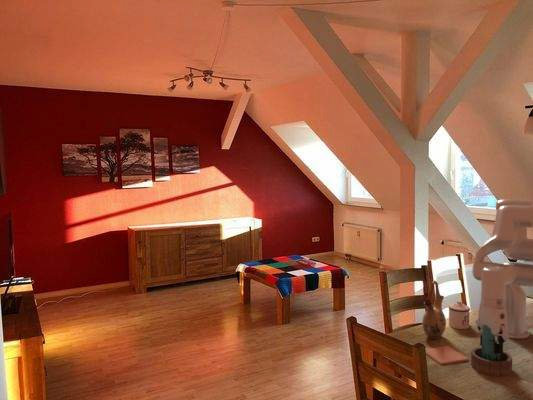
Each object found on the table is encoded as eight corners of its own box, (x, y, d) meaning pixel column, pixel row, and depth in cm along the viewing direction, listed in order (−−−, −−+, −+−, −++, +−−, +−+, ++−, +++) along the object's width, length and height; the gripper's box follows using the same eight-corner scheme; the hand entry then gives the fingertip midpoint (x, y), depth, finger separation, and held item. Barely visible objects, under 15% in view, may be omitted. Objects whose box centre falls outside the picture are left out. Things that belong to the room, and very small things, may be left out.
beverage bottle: (477, 364, 161) (478, 312, 160) (494, 363, 162) (495, 311, 160) (487, 372, 155) (488, 318, 153) (505, 371, 156) (506, 317, 154)
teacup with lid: (465, 331, 193) (466, 305, 192) (445, 326, 199) (445, 301, 198) (474, 323, 201) (475, 299, 200) (454, 319, 208) (455, 295, 207)
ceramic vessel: (437, 346, 178) (437, 286, 176) (415, 340, 184) (416, 283, 182) (451, 334, 190) (452, 278, 188) (430, 329, 196) (431, 275, 194)
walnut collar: (492, 357, 166) (493, 345, 166) (519, 373, 154) (520, 360, 153) (463, 362, 163) (463, 349, 163) (488, 378, 151) (489, 364, 150)
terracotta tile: (448, 347, 176) (448, 346, 176) (468, 360, 164) (468, 358, 164) (422, 351, 173) (422, 349, 173) (440, 364, 162) (440, 362, 161)
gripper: (520, 308, 149) (518, 358, 150) (484, 293, 166) (483, 339, 167) (501, 310, 147) (500, 360, 149) (467, 295, 164) (466, 341, 165)
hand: (491, 348), depth 158 cm, fingers closed on beverage bottle, 6 cm apart
